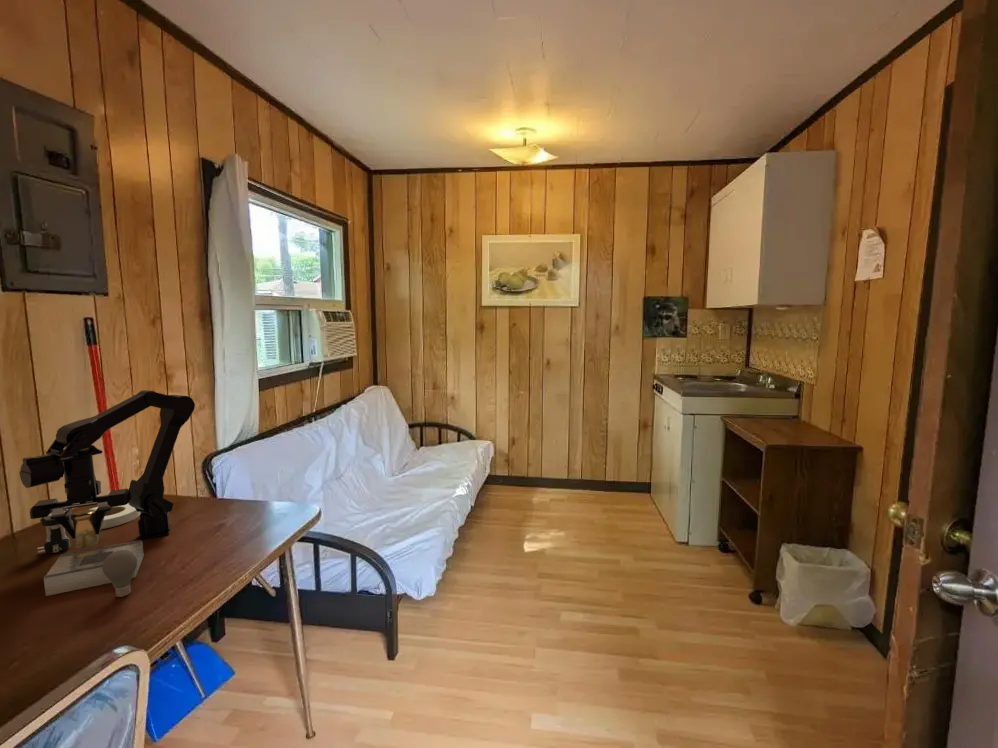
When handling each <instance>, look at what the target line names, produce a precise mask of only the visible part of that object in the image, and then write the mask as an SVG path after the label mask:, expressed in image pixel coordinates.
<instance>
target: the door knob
mask: <svg viewBox="0 0 998 748" xmlns="http://www.w3.org/2000/svg"><path fill="white" fill-rule="evenodd" d="M90 509H91V510H89V509H85V510H80V511H76V512H73V513H72V515H71V520H73V525H74V533H75V539H74V541H75V548H78V549H84V548H89V547H94V546H95V545H97V544H98V543H99V542H100V541H99V535H97V532H96V516H95V511H96V510H94V509H92V508H90Z"/></svg>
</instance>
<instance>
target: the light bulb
mask: <svg viewBox="0 0 998 748" xmlns="http://www.w3.org/2000/svg"><path fill="white" fill-rule="evenodd" d="M136 566H137V557H136V556H135V554H134V553H132V552H131V551H128V550H118V551H115V552H113V553H111V554H110V555H109V556H108V557H107V558H106V559H105V561H104V563H103V567H102V569H103V572H104V574H105V576H107V578H109V579H110V580H111V581H112V583H111V584H112V586H113V588H114V589H115V590H114V591H115V597H116V598H118V597H119V598H120V597H121V598H123V597H125V596H128V595H129V594H131V592H132V590H131V583H132V579H133V578H132V574H133V572H134V571H135V568H136Z"/></svg>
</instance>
